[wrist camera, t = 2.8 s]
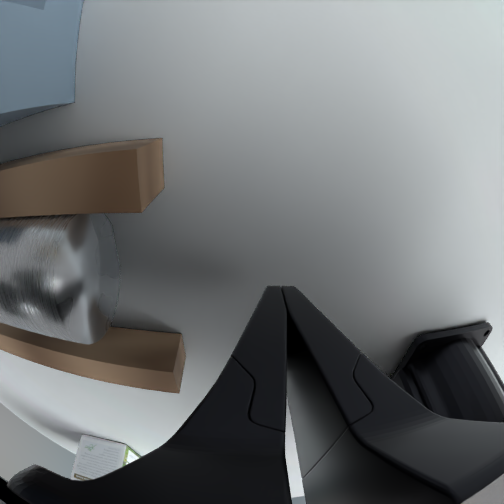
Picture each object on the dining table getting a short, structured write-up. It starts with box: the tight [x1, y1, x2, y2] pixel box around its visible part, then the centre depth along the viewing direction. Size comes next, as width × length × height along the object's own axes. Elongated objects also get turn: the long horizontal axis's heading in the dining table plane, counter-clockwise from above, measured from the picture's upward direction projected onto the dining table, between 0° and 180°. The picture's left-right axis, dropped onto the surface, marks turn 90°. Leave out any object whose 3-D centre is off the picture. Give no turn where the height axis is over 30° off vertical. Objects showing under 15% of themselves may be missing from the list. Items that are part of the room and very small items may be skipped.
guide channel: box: [0, 138, 186, 393], centre depth 8 cm, size 13×9×2 cm
